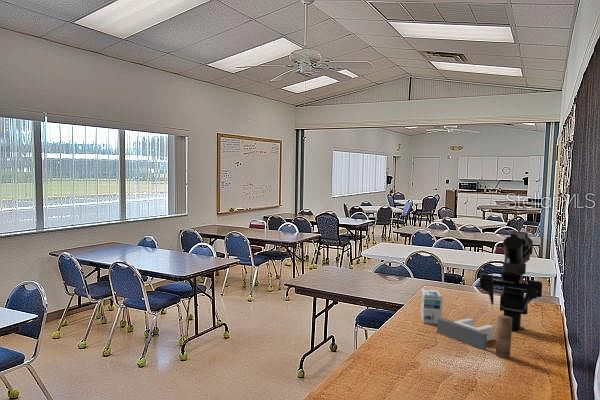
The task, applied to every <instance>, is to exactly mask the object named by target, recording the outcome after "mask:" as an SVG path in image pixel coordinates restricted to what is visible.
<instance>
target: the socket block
mask: <svg viewBox="0 0 600 400" xmlns="http://www.w3.org/2000/svg"><path fill="white" fill-rule="evenodd" d="M453 322H454V323H457V324H460V325H463V326H466V327H469V328H472V329H475V330H478V331H481V332H484V333H487V342H489V341H492V340H494V338H495V337H494V336H495V326H494V325H492V324H486V325H483V326H478V327H476V326H474V319H472V318H470V317H467V318H462V319H459V320H455V321H453Z"/></svg>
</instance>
